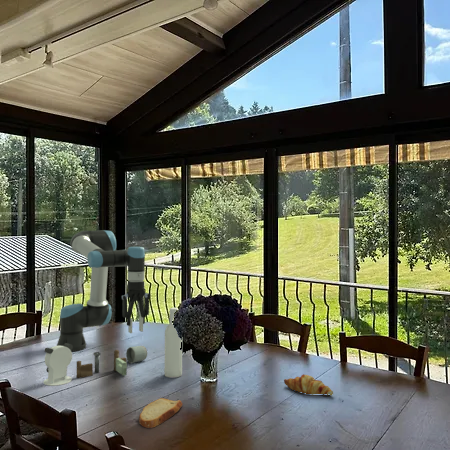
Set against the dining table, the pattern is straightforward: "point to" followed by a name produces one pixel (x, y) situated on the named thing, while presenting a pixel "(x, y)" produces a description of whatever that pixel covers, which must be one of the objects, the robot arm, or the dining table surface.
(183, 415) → the dining table surface
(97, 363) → the post
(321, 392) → the croissant
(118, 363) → the gate
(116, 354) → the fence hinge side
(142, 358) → the ceramic mug
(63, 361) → the cream upright rounded piece
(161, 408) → the slice of bread
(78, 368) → the fence far side
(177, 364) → the bottle
